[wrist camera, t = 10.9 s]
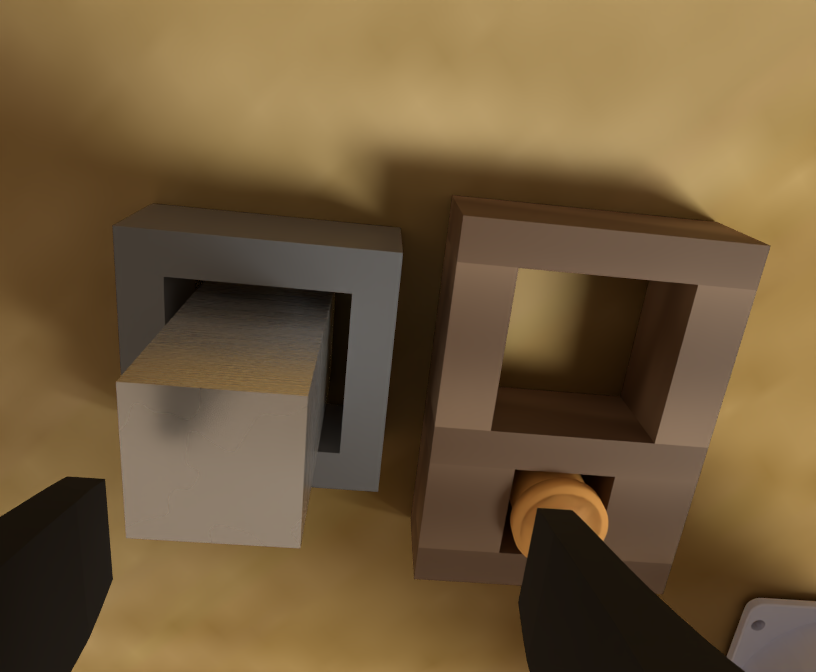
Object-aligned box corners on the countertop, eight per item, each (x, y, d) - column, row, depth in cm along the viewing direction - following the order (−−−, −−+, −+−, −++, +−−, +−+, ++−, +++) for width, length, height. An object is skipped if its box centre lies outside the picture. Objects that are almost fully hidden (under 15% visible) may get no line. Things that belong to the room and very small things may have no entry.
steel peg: (329, 384, 21) (300, 548, 14) (216, 375, 21) (126, 537, 14) (336, 277, 20) (307, 395, 13) (216, 267, 20) (116, 382, 13)
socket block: (630, 533, 24) (662, 594, 21) (410, 518, 23) (414, 578, 21) (716, 222, 20) (770, 245, 17) (451, 195, 19) (463, 215, 17)
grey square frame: (379, 439, 22) (378, 492, 19) (159, 423, 22) (126, 474, 19) (400, 227, 20) (402, 252, 17) (152, 203, 19) (112, 225, 16)
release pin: (570, 505, 23) (597, 569, 20) (490, 499, 23) (506, 563, 20) (586, 434, 22) (617, 490, 19) (503, 428, 22) (521, 484, 19)
